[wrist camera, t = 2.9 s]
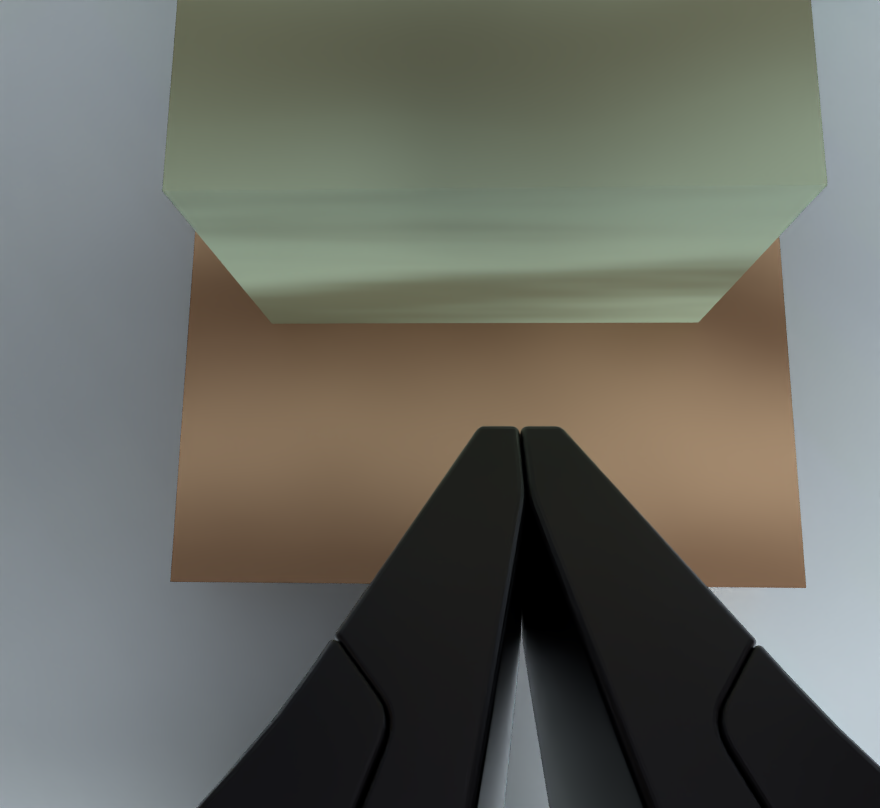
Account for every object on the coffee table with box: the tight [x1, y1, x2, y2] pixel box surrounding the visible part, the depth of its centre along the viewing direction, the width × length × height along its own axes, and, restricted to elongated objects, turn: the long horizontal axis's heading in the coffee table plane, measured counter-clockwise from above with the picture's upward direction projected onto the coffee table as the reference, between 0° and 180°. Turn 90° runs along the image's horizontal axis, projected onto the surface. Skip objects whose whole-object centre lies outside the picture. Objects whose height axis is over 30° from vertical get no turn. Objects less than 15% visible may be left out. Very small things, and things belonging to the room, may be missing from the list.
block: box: [162, 0, 827, 324], centre depth 16 cm, size 5×10×7 cm, turn 89°
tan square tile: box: [170, 231, 806, 588], centre depth 20 cm, size 12×14×2 cm
